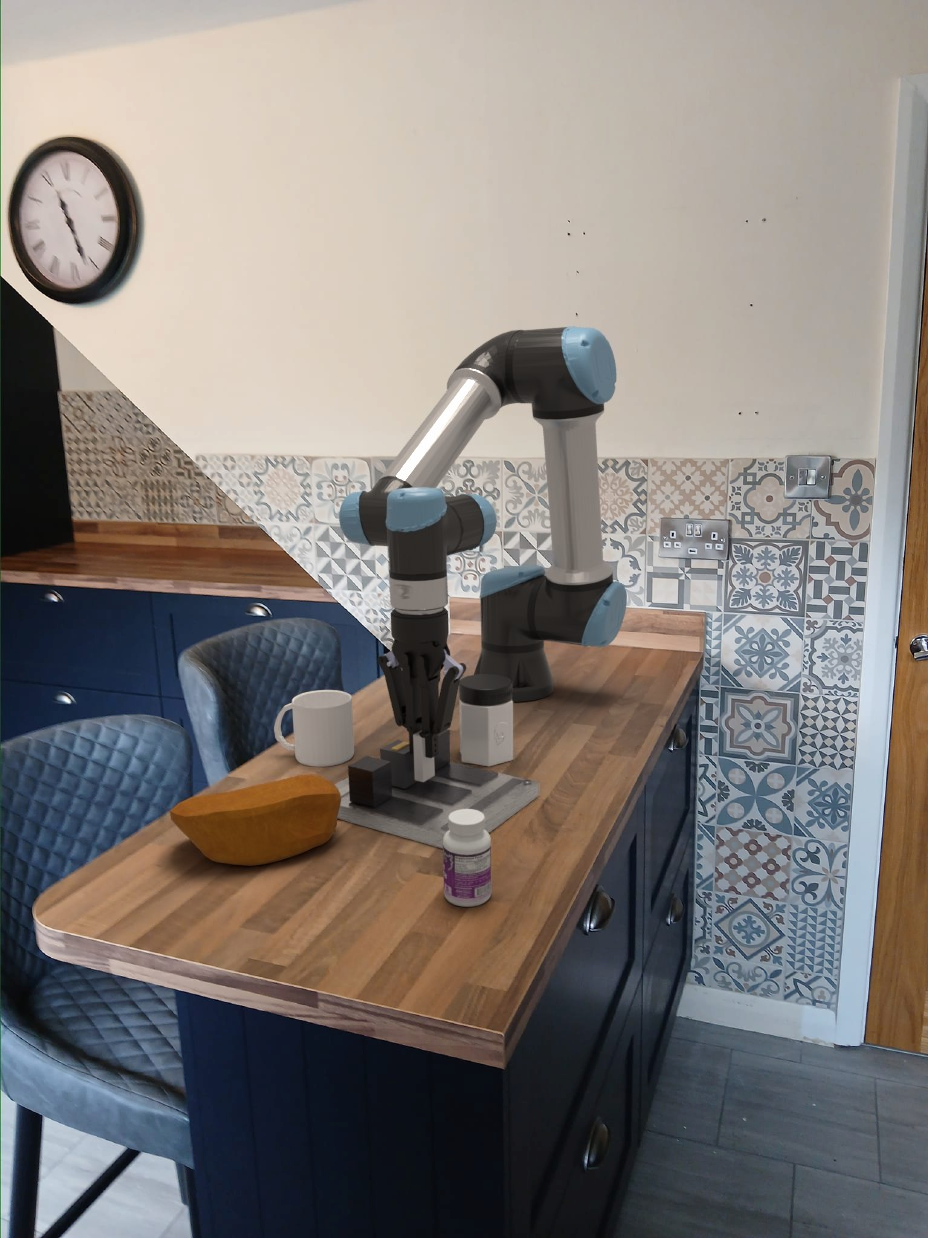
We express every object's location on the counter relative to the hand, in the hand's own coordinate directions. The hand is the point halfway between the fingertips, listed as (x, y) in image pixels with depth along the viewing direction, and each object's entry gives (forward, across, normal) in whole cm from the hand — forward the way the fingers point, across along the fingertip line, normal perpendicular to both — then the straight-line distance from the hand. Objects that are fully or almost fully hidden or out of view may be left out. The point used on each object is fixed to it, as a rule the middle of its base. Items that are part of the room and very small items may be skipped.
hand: (424, 777), depth 130 cm
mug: (+4, -25, +6) cm, 26 cm away
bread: (+4, -11, -21) cm, 24 cm away
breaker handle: (+1, -4, 0) cm, 4 cm away
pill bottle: (+4, +18, -18) cm, 26 cm away
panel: (+4, 0, 0) cm, 4 cm away
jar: (+4, -2, +19) cm, 19 cm away
